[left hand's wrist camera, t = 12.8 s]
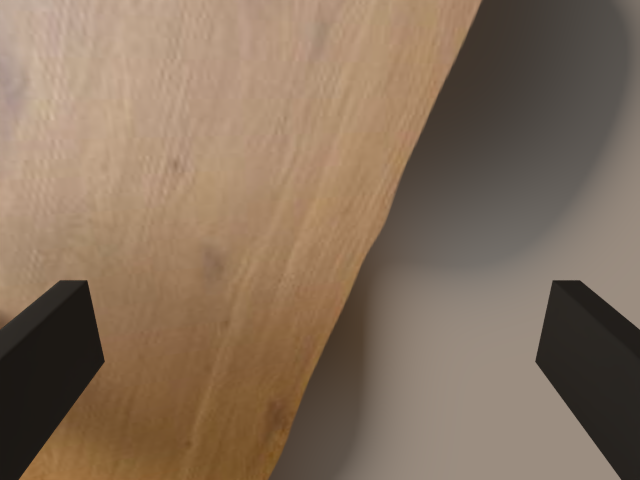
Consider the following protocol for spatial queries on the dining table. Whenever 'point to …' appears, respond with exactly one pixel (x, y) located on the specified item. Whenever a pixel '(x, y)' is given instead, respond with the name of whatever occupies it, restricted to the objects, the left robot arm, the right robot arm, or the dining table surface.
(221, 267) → the dining table surface
